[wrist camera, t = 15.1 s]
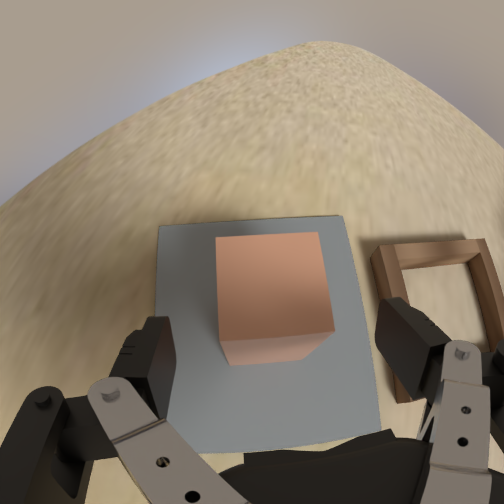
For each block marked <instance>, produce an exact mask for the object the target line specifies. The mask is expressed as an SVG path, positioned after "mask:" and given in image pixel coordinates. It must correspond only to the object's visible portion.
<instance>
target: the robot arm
mask: <svg viewBox="0 0 504 504" xmlns="http://www.w3.org/2000/svg"><path fill="white" fill-rule="evenodd" d="M375 343H376V346H377V348H378V350H379V351H380V353H381V354H382V355H383V357H384V358H385V360H386V361H387V363H388V364H389V366H390V367H391V369H392V370H393V371H394V373H395V374H396V376H397V377H398V379H399V380H400V382H401V383H402V385H403V386H404V388H405V389H406V391H407V392H408V394H409V395H410V397H411V398H412V400H413V401H414V400H418V399H421V398H424V397H425V398H426V399H427V401H426V404H425V406H424V410H423V414H422V418H421V423H420V426H419V430H418V434H417V438H416V439H412V438H396V437H395V435H394V434H393V432H392V430H391V429H387V430H383V431H379V432H375V433H371V434H367V435H363V436H359V437H356V438H354V439H352V440H350V441H347V442H345V443H343V444H341V445H338V446H336V447H334V448H331V449H329V450H326V451H296V450H274V451H264V452H252V453H243V454H244V464H240V465H237V466H234V467H231V468H229V469H227V470H225V471H223V472H221V473H219V474H217V473H216V472H215V471H214V470H213V469H212V468H211V467H210V466H209V465H208V464H207V463H206V462H205V461H204V460H203V459H202V458H201V457H200V456H199V455H198V454H197V453H196V452H195V451H194V450H193V448H192V447H191V446H190V445H189V444H188V443H187V442H186V441H185V440H184V439H183V438H182V437H181V436H180V434H179V433H178V432H177V431H176V430H175V429H174V428H173V427H172V425H171V424H170V423H169V422H168V421H167V420H166V419H167V413H168V408H169V402H170V397H171V391H172V386H173V381H174V376H175V371H176V363H177V360H176V350H175V345H174V340H173V335H172V329H171V324H170V319H169V317H168V316H150V317H148V318H147V320H146V322H145V324H144V327H143V329H142V330H135V331H133V332H132V333H131V334H130V335H129V336H128V337H126V340H125V342H124V344H123V346H122V347H123V348H121V350H120V352H119V355H118V357H117V359H116V361H115V363H114V365H113V368H112V370H111V372H110V374H109V377H108V378H104V379H101V380H99V381H97V382H96V383H94V384H93V385H92V386H91V387H90V389H89V391H88V395H86V396H80V397H73V398H66V399H65V398H64V396H63V394H62V392H61V391H60V390H59V389H58V388H56V387H52V386H45V387H40V388H38V389H36V390H34V391H32V392H31V393H30V394H29V395H28V396H27V397H26V399H25V401H24V402H23V404H22V406H21V408H20V410H19V411H18V413H17V415H16V417H15V419H14V421H13V423H12V425H11V427H10V429H9V431H8V433H7V435H6V437H5V439H4V441H3V443H2V445H1V447H0V504H84V503H85V498H86V493H87V489H88V484H89V480H90V476H91V471H92V467H93V463H94V460H100V459H107V458H113V457H118V458H119V460H120V461H121V463H122V465H123V466H124V468H125V469H126V471H127V472H128V474H129V475H130V477H131V478H132V480H133V481H134V483H135V484H136V486H137V487H138V489H139V490H140V492H141V493H142V495H143V496H144V497H145V499H146V500H147V502H148V503H149V504H504V474H503V473H500V472H498V471H495V470H492V469H490V468H488V457H489V442H490V433H491V435H492V436H493V438H494V439H495V441H496V442H497V444H498V446H499V447H500V449H501V450H502V452H503V453H504V339H502V340H500V341H499V342H498V343H497V346H496V349H495V352H487V353H481V352H480V350H479V349H478V348H477V347H476V346H475V345H474V344H472V343H470V342H467V341H463V340H454V341H452V340H451V339H450V338H449V337H448V336H447V335H446V334H445V333H444V332H443V331H442V330H441V329H440V328H439V327H438V326H437V325H436V326H435V323H434V322H432V321H431V320H429V318H428V317H427V316H426V315H425V314H424V313H423V312H421V311H419V310H417V309H415V308H413V307H411V306H410V305H409V304H408V303H406V302H405V301H404V300H403V299H402V298H401V297H392V298H385V299H382V300H381V301H380V304H379V310H378V317H377V323H376V330H375Z"/></svg>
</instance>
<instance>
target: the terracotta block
mask: <svg viewBox="0 0 504 504" xmlns="http://www.w3.org/2000/svg"><path fill="white" fill-rule="evenodd" d="M216 270H217V298H218V321H219V341H220V344H221V346H222V349H223V351H224V353H225V356H226V358H227V361H228V363H229V365H230V366H235V365H250V364H264V363H275V362H286V361H296V360H302V359H303V358H305V357H306V356H307V355H308V354H309V353H311V352H312V351H313V350H314V349H315V348H317V347H318V346H319V345H320V344H321V343H322V342H324V341H325V340H326V339H327V338H328V337H329V336H330V335H332V334H333V333H334V332H335V326H334V319H333V313H332V307H331V301H330V295H329V289H328V283H327V278H326V272H325V266H324V261H323V256H322V251H321V245H320V240H319V235H318V232H303V233H283V234H265V235H247V236H230V237H216Z"/></svg>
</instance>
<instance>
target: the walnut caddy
mask: <svg viewBox="0 0 504 504" xmlns="http://www.w3.org/2000/svg"><path fill="white" fill-rule="evenodd" d="M370 260H371V264H372V268H373V272H374V277H375V281H376V285H377V290H378V294H379V299H380V301H381V300H382V299H385V298H392V297H401V298H402V299H403V300H404V301H405V302H406V303H408V304H409V300H408V296H407V292H406V288H405V284H404V280H403V276H402V272H401V270H404V269H414V268H424V267H433V266H442V265H451V264H459V263H468V265H469V268H470V271H471V274H472V277H473V281H474V284H475V288H476V291H477V295H478V298H479V302H480V306H481V310H482V314H483V318H484V322H485V327H486V331H487V336H488V340H489V346H490V351H491V352H495V349H496V346H497V343H498V342H499V341H500V340H502V339H504V296H503V292H502V289H501V286H500V282H499V279H498V276H497V273H496V270H495V267H494V264H493V261H492V258H491V255H490V252H489V249H488V247H487V244H486V241H485V239H469V240H454V241H438V242H423V243H407V244H391V245H379V246H378V248H377V249H376V250H375V252H374V253H373V254H372V256H371V257H370ZM409 305H410V304H409ZM393 377H394V384H395V391H396V399H397V403H408V402H413V400H412V398H411V397H410V395H409V394H408V392H407V391H406V389H405V388H404V386H403V385H402V383H401V382H400V380H399V379H398V377H397V376H396V374H395V373H394V371H393ZM424 398H425V397H424ZM421 399H423V398H421ZM418 400H420V399H418ZM414 401H417V400H414Z"/></svg>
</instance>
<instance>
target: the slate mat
mask: <svg viewBox="0 0 504 504" xmlns="http://www.w3.org/2000/svg"><path fill="white" fill-rule="evenodd" d="M303 232H318V235H319V240H320V245H321V251H322V256H323V261H324V266H325V272H326V278H327V283H328V289H329V295H330V301H331V307H332V313H333V319H334V326H335V332H334V333H333V334H332V335H330V336H329V337H328V338H327V339H326V340H325V341H324V342H322V343H321V344H320V345H319V346H318V347H317V348H315V349H314V350H313V351H312V352H311V353H309V354H308V355H307V356H306V357H305V358H303V359H302V360H296V361H286V362H275V363H264V364H250V365H235V366H230V365H229V363H228V361H227V358H226V356H225V353H224V351H223V349H222V346H221V344H220V341H219V321H218V298H217V270H216V237H230V236H247V235H265V234H283V233H303ZM155 316H168V317H169V319H170V324H171V329H172V335H173V340H174V345H175V350H176V360H177V363H176V371H175V376H174V381H173V386H172V391H171V397H170V402H169V408H168V413H167V419H166V420H167V421H168V422H169V423H170V424H171V425H172V427H173V428H174V429H175V430H176V431H177V432H178V433H179V434H180V436H181V437H182V438H183V439H184V440H185V441H186V442H187V443H188V444H189V445H190V446H191V447H192V448H193V450H194V451H195V452H196V453H235V452H252V451H264V450H274V449H283V448H291V447H299V446H306V445H313V444H319V443H325V442H330V441H336V440H341V439H346V438H351V437H355V436H360V435H364V434H369V433H373V432H377V431H381V422H380V413H379V404H378V395H377V388H376V380H375V373H374V366H373V360H372V353H371V347H370V341H369V335H368V329H367V324H366V318H365V313H364V308H363V302H362V297H361V293H360V288H359V283H358V278H357V274H356V269H355V265H354V260H353V256H352V252H351V247H350V243H349V239H348V235H347V231H346V227H345V223H344V219H343V216H325V217H302V218H281V219H262V220H244V221H227V222H212V223H197V224H183V225H170V226H159V237H158V252H157V271H156V296H155Z"/></svg>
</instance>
